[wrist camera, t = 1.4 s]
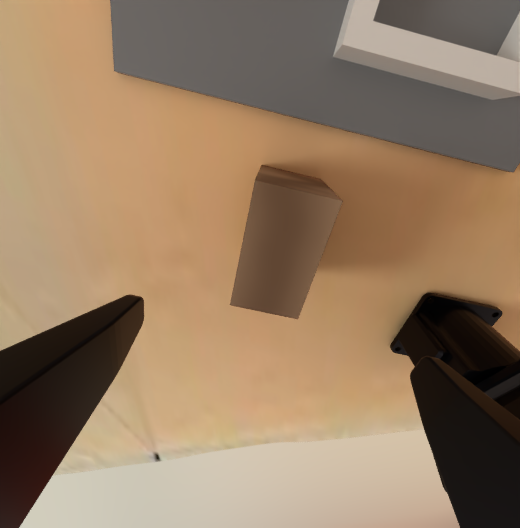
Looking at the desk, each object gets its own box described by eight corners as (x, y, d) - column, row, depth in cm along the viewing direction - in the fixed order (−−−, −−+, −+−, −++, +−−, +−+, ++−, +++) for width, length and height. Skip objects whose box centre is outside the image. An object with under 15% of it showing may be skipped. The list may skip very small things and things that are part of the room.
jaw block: (320, 179, 16) (342, 201, 11) (291, 268, 19) (297, 319, 14) (261, 164, 16) (254, 180, 11) (242, 258, 19) (230, 305, 14)
